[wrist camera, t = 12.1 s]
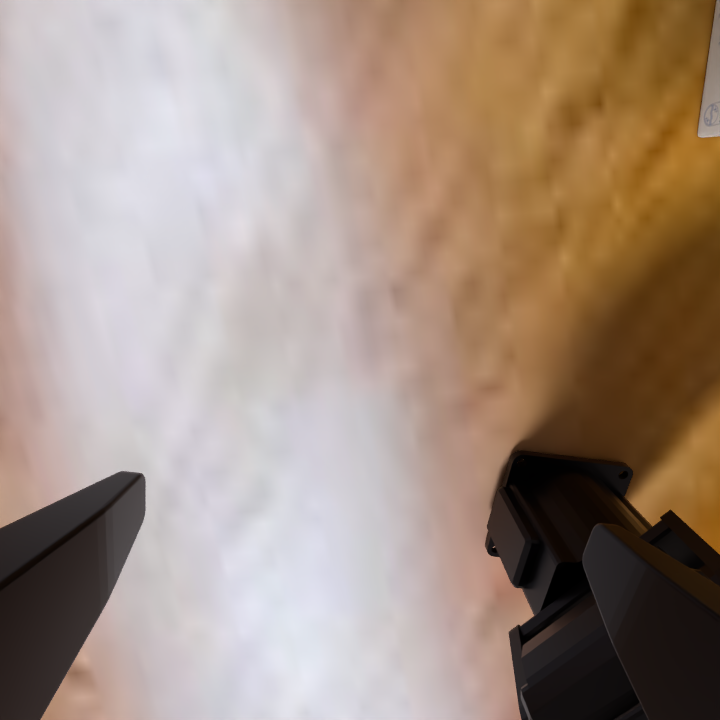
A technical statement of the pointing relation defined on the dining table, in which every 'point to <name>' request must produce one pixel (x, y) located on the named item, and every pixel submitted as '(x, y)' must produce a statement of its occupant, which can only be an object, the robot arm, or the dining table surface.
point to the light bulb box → (712, 85)
